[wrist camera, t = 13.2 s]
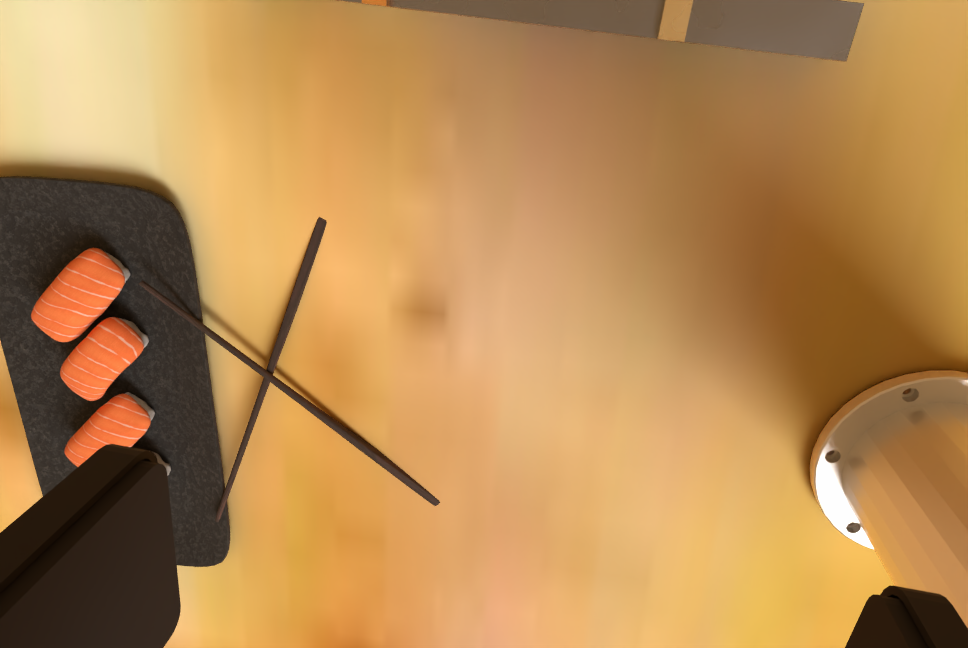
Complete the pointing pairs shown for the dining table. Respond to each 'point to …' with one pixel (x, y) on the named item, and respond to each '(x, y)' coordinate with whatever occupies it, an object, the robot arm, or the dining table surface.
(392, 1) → the rail
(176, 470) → the sushi plate
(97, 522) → the robot arm
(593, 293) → the dining table surface
